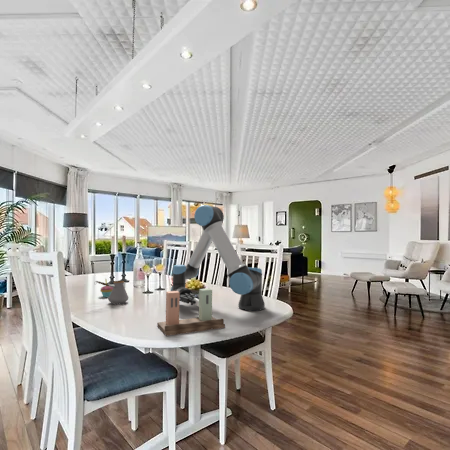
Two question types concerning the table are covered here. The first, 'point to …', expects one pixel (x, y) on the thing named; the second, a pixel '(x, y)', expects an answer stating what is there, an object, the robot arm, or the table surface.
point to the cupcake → (106, 290)
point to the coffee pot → (117, 292)
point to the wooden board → (190, 326)
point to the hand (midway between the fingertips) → (199, 303)
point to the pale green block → (205, 304)
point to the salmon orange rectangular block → (172, 307)
